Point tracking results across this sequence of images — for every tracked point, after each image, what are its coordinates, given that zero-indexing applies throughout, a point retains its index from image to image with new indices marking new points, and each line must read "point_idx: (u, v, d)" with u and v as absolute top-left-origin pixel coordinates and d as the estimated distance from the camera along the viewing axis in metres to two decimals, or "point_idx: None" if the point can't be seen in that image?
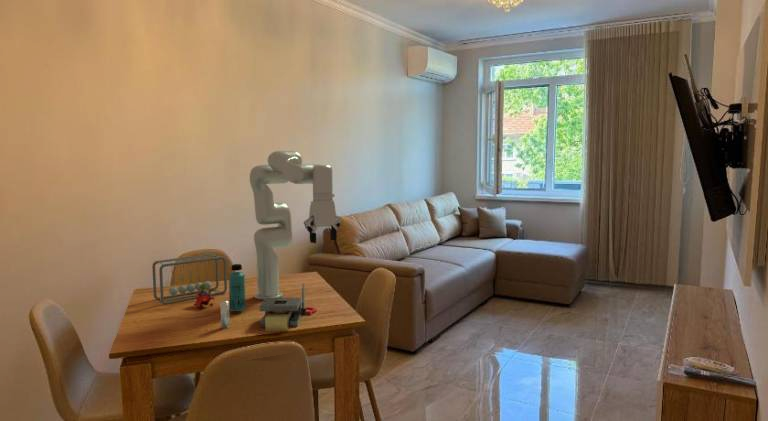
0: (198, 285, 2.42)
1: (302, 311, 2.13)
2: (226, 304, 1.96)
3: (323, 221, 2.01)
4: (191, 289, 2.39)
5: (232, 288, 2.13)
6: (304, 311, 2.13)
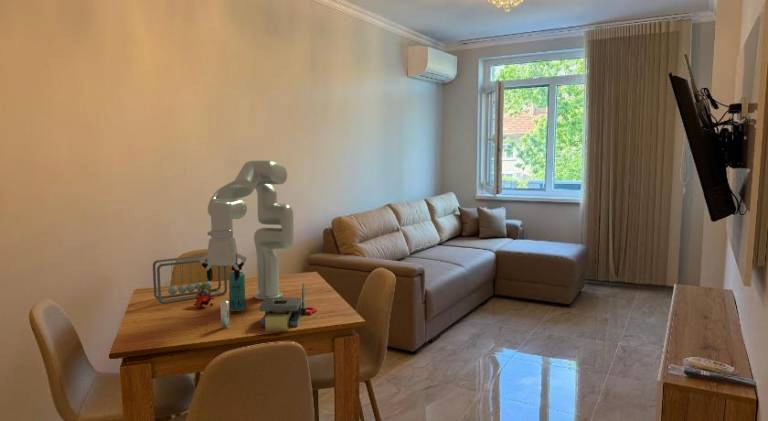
0: (198, 285, 2.41)
1: (302, 311, 2.13)
2: (226, 304, 1.96)
3: None
4: (190, 289, 2.39)
5: (232, 288, 2.13)
6: (304, 311, 2.13)
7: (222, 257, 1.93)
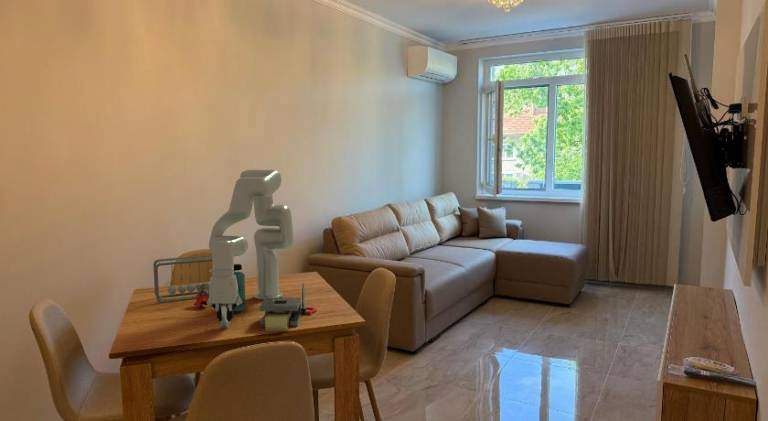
0: (198, 285, 2.41)
1: (302, 311, 2.13)
2: (226, 304, 1.96)
3: None
4: (190, 289, 2.39)
5: None
6: (304, 311, 2.13)
7: (223, 295, 1.94)
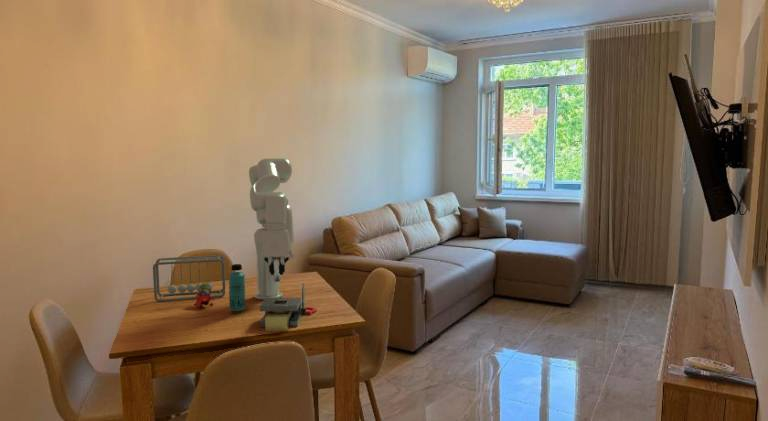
0: (197, 286, 2.40)
1: (302, 311, 2.13)
2: (278, 258, 2.00)
3: None
4: (189, 289, 2.39)
5: (232, 288, 2.13)
6: (304, 311, 2.13)
7: (276, 248, 1.98)
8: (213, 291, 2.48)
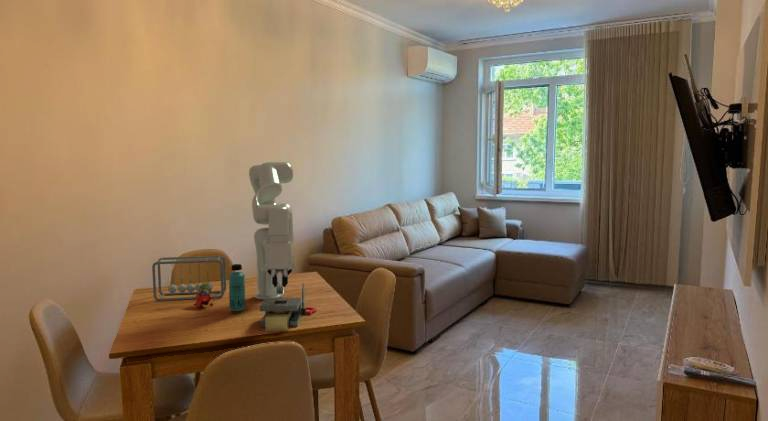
0: (197, 286, 2.40)
1: (302, 311, 2.13)
2: (281, 270, 2.01)
3: None
4: (189, 289, 2.39)
5: (232, 288, 2.13)
6: (304, 311, 2.13)
7: (279, 261, 1.99)
8: (214, 292, 2.47)
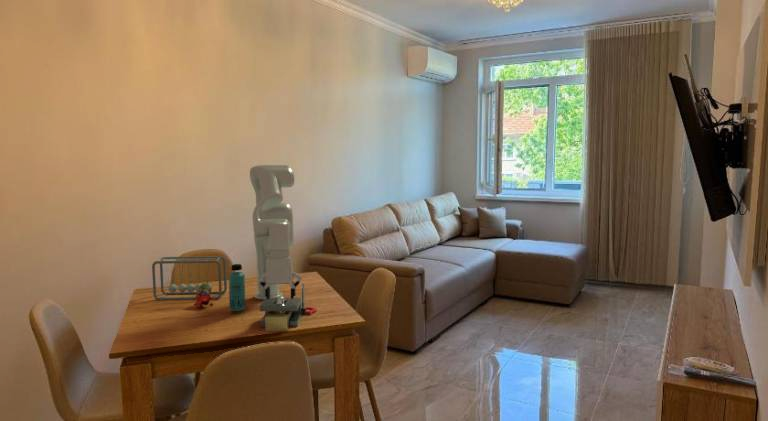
0: (196, 286, 2.40)
1: (302, 311, 2.13)
2: (282, 300, 2.02)
3: None
4: (188, 289, 2.39)
5: (232, 288, 2.13)
6: (304, 311, 2.13)
7: (280, 276, 1.99)
8: (214, 292, 2.46)
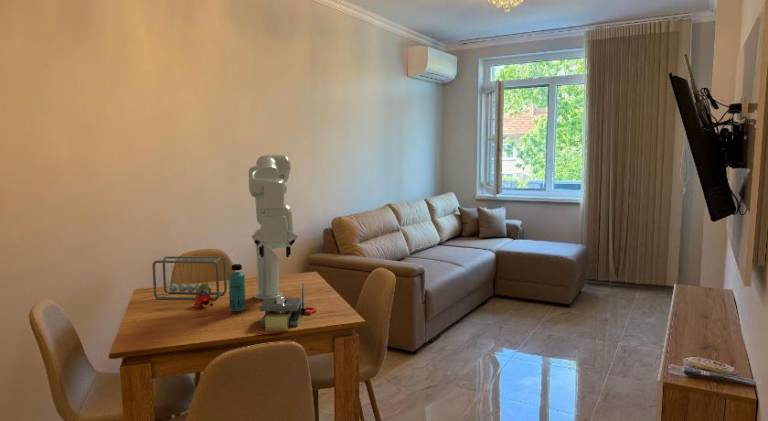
0: (195, 286, 2.39)
1: (302, 311, 2.13)
2: (282, 300, 2.02)
3: None
4: (188, 289, 2.39)
5: (232, 288, 2.13)
6: (304, 311, 2.13)
7: (275, 234, 2.00)
8: (215, 293, 2.45)
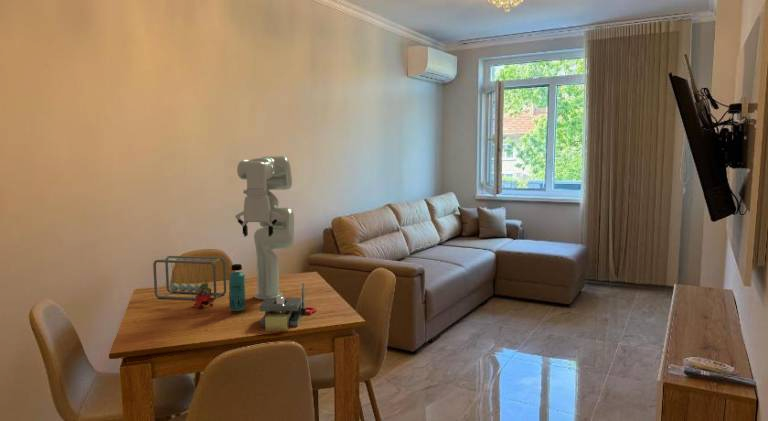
0: (195, 287, 2.39)
1: (302, 311, 2.13)
2: (282, 300, 2.02)
3: None
4: (187, 289, 2.39)
5: (232, 288, 2.13)
6: (304, 311, 2.13)
7: (257, 214, 2.06)
8: None
